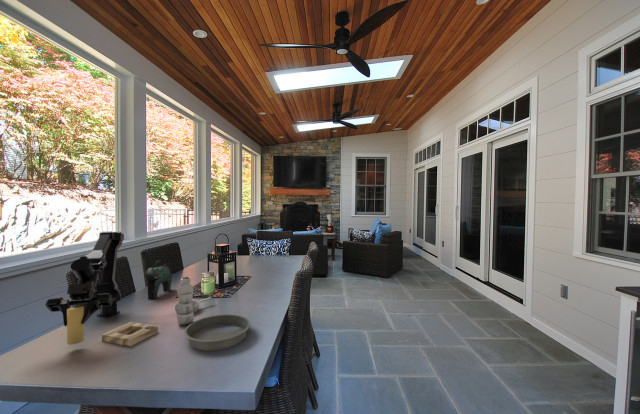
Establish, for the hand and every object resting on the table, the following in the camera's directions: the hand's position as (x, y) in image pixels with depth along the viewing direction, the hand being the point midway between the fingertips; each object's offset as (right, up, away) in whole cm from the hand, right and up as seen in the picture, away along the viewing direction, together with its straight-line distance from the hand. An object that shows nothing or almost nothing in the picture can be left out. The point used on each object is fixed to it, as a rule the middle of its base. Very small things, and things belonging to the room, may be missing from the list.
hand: (73, 324), depth 99 cm
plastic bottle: (+28, -10, +23) cm, 38 cm away
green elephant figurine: (-5, -9, +62) cm, 63 cm away
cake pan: (+47, -10, +12) cm, 50 cm away
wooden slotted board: (+13, -9, +11) cm, 19 cm away
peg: (-1, -7, +1) cm, 7 cm away
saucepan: (+25, -9, +40) cm, 48 cm away
